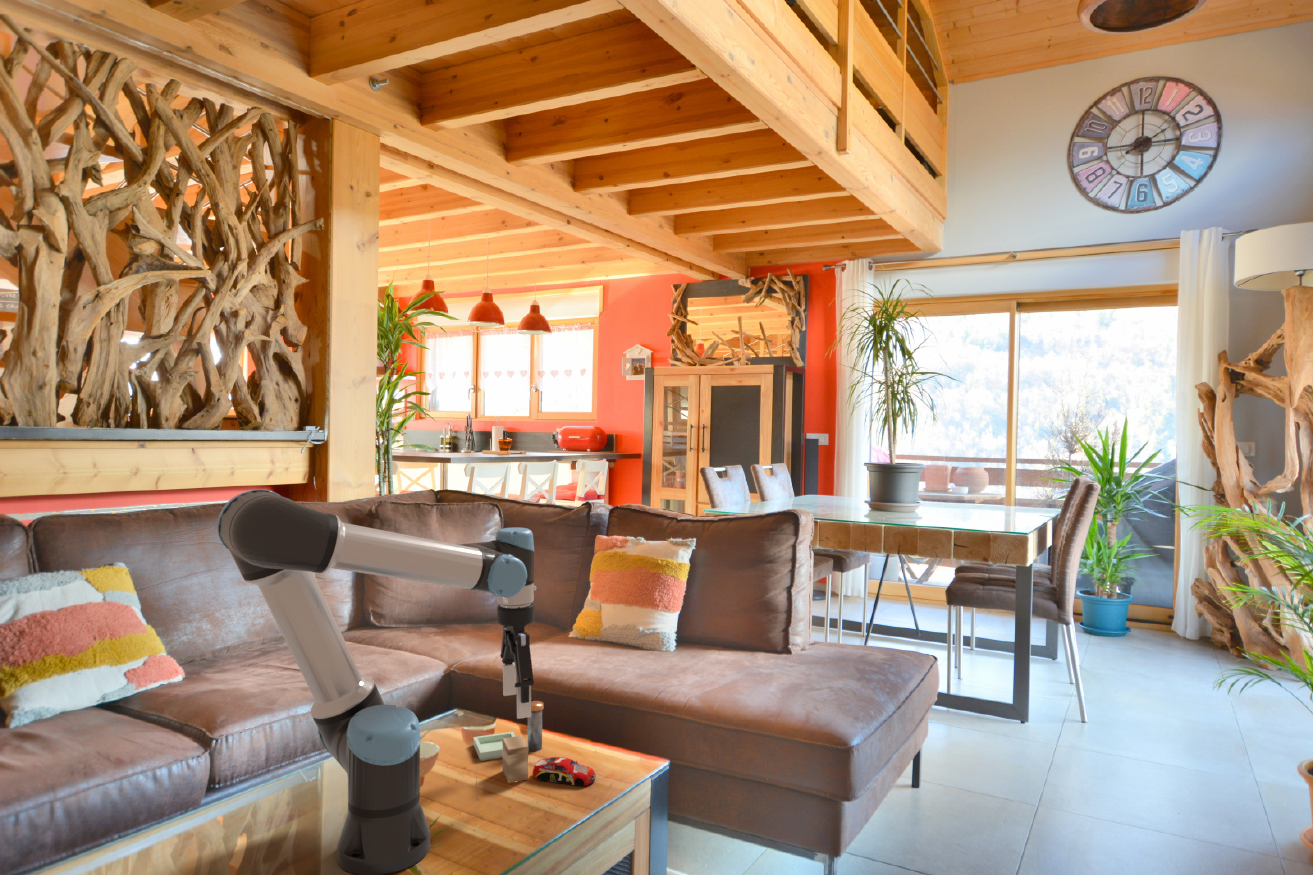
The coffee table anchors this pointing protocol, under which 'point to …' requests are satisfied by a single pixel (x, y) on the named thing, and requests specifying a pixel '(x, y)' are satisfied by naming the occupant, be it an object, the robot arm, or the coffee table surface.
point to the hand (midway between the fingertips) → (516, 705)
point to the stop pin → (535, 726)
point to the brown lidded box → (515, 758)
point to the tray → (490, 745)
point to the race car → (563, 771)
